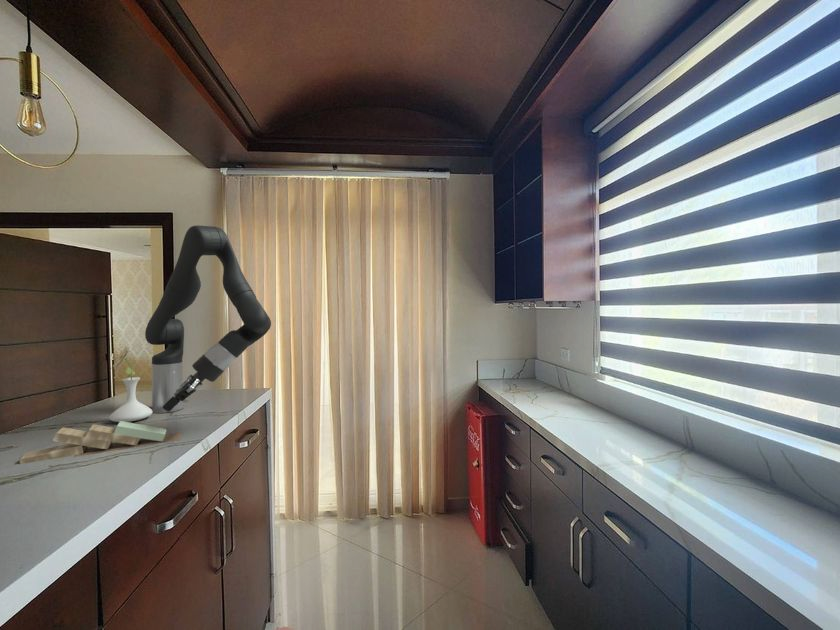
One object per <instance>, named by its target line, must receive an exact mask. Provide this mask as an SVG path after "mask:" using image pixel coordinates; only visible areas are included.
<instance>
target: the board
mask: <svg viewBox="0 0 840 630" xmlns="http://www.w3.org/2000/svg"><path fill="white" fill-rule="evenodd" d="M181 440H182V432H178V433H170V434H165V436H164V439H163V441H156V440H150V439H143V438H140V439H139V442H138V444H137V446H136V445H129V444H123V443H117V442H112V443H111V445H110V446H109V448H108V449H102V448H95V447H87V449H86V450H85V451H84V453H82V454H78V455H74V456H73V458H75V457H80V456H86V455H87V456H88V455H93V454H94V455H95V454H101V453H106V452H107V453H108V452H115V451H119V450H125V449H132V448H139V447H145V446H151V445H157V444H165V443H169V442H171V443H172V442H176V441H181Z"/></svg>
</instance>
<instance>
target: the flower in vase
mask: <svg viewBox="0 0 840 630" xmlns="http://www.w3.org/2000/svg"><path fill="white" fill-rule="evenodd" d="M130 348H131V347H130V345H128V346H125V347H124V349H123V350H121V351H120V352H119V355H118V357H117V358H116V359H115V363H114V364H113V365H112V367H113V370H115V369H117V368H119V367H120V366H121V365H122V363H124V361H126V362H127V364H128V365H129V366H128V367H127V368H126V369H125V373H126V374H128V377H125V378H122V379H121V381H122V382H123V383H124V385H125V388H126V394H127V395H126V400H125V402H124V403H123V404H122V405H121V406H119V407H118V408H116V410H114V411H113V412H112V413H111V414H110V416H109V420H111V422H116V423H119V422H120V421H123V422H129V423H131V422H136V421H140V420H143V419H146V418H148V417H150V416H151V415H153V413H154V412H153V410H152V408H150V407H148V406H147V405H145V404H144V403H142V402H139V401H138V400H137V396H136V394H137V393H136V392H137V391H136V390H137V385H138V383H139V381H140V380H141V377H138V376H137V377H134V376H133V375H135V374H136V372H135V371H134V369H133V367H132V364H131V363H130V362H129V360H128V359H127V356H128V354H129V353H130Z"/></svg>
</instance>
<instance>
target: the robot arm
mask: <svg viewBox="0 0 840 630" xmlns="http://www.w3.org/2000/svg"><path fill="white" fill-rule="evenodd" d="M202 256H216V257H217V258H218V260H219V261H220V262H221V264H222V268H223V271H222V272H223V273H222V285H223V289H224V291H225V293H226V295H227V297H228V299H229V300H230V303H232V305H233V306H234V308H235V309H236V310H237V313H238V315H239V317H240V319H241V322H242V323H243V325H242V326H240V327H239V328H237V329H235V330H234V329H233V330H231V331H229V332H227V333H226V334H225V335H224V336H223V337H222V338H220V340H219V341H218V342H216V343H215V344H214V345H212V347H210V348H209V349H207V350H206V352H204V354H202V355H201V356H200V357H199V358H198V359H196V361H194V363H193V364H192V368H193V370H195V371H196V372H195V373H194V374H193V375H192V374H189V375H188V376H187V378H186V379H185V381H183V378H184V377H183V358H184V344H185V343H184V342H185V340H184V339H185V327H184V323H183V322H182V320H181V319H179V318H174V317H175V316H177V315H178V314H180V313H182V312H183V311H185V310H186V309H187V308H188V307H189V308H190V306H191V305H192V304H193V303H194V302H195V300H196V298H197V297H198V295H199V293H200V290H201V286H202V284H201V283H202V281H201V279H200V275H199V274H198V271H197V266H198V263H199V261H200V259H201V257H202ZM150 317H151V318H149V320H148V323H147V324H146V328H145V333H144V336H145V341H147V343H148V344H150V345H153V346H154V345H156V346H164V345H168V346H167V348H166V349H164V350H163V351H161V352H159V353H156V354H155V355H152V357H151V407H152V408H151V410H152V411H153V413H155V414H156V413H157V414H159V413H160V414H164V413H170V412H171V413H172V412H176V411H181V410H182V409H183V408H184V401H185V400H186V399H187V398H189V397H190V396H192V394H194V393H196V391H197V390H199V389H200V388H201V387H202V386H203V382H204V381H205V380H208V381H209V382H211V383H215V381H216V380H217V379H218V378H219V377H220V376H221V375H222V374H223V373H224V372H226V370H227V369H229V368H230V366H231V365H232V364H233V363H234V362H235V360H237V358H239V356H241V355H242V353H244V351H246V350H247V348H249V347H250V346H251V345H253V344H254V343H256V342H257V341H259V340H260V339H261V338H263V337H264V336H265V335H266V334H267V333H268V331H269V330H270V329H271V326H272V321H271V317H269V315H268V313H267V312H266V311H265V309H264V307H263V305H262V304H261V303H260V301H259V300H258V299H257V295H256V294H255V292H254V290H253V288H252V287H251V285H250V283H249V282H248V281H247V279H246V276H245V275H244V273H243V271H242V269H241V266H240V264H239V262H238V259H237V255H236V254H235V250H234V248H233V246H232V244H231V241H230V238H229V236H228V235H227V233H226V231H225V230H224V229H223V228H221V227H218V226H210V225H192V226H190V227H189V228H188V229H187V230H186V232H185V235H184V237H183V241H182V244H181V248H180V251H179V255H178V257H177V261H176V264H175V266H174V268H173V271H172V273H171V276H170V277H169V280H168V282H167V285H166V287H165V289H164V292H163V294H162V296H161V299H160V301H159V303H158V306H157V307H156V309H155V311H154V312H153V313H152V316H150Z"/></svg>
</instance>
